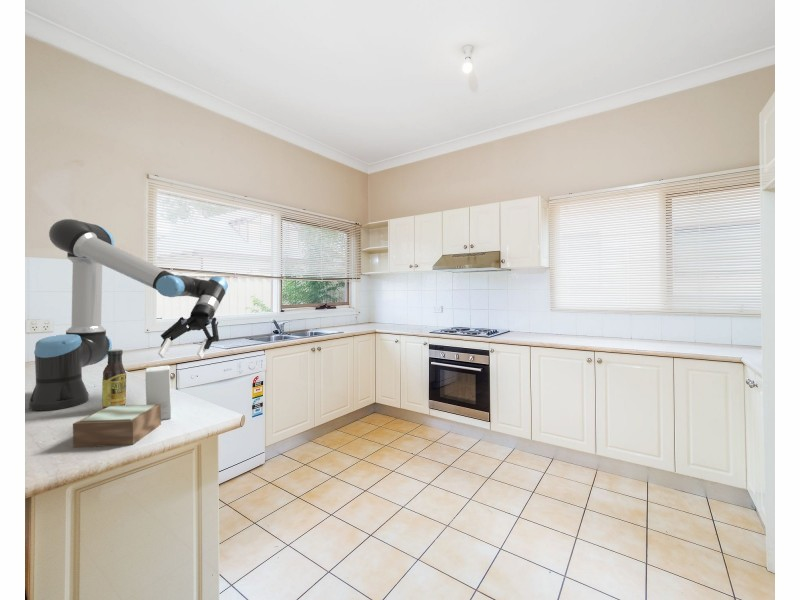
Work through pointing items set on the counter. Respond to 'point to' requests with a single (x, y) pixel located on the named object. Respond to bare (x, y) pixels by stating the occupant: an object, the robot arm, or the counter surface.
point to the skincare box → (159, 389)
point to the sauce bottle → (114, 380)
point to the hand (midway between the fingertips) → (180, 355)
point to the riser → (116, 425)
